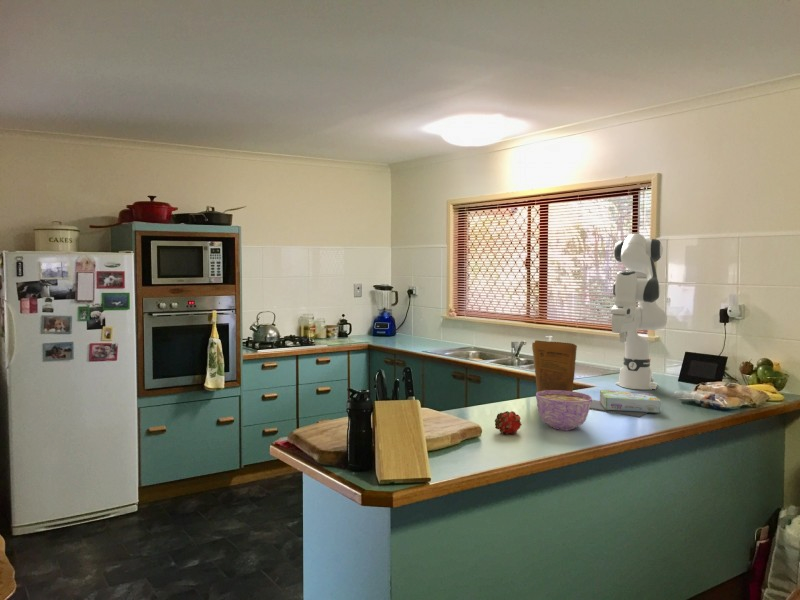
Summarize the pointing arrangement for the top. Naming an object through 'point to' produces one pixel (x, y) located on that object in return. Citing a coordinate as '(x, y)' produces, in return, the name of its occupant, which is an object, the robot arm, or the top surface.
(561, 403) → the bowl of food
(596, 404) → the charcoal rubber mat
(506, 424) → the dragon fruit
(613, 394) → the snack box
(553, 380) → the pancake mix bag
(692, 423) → the top surface
